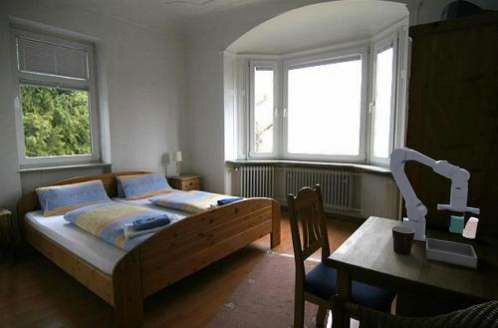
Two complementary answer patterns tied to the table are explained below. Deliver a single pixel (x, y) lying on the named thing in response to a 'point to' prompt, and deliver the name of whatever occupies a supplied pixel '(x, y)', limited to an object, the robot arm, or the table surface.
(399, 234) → the coffee mug
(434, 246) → the gray tray
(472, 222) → the beverage cup
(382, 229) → the table surface
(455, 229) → the teal block
